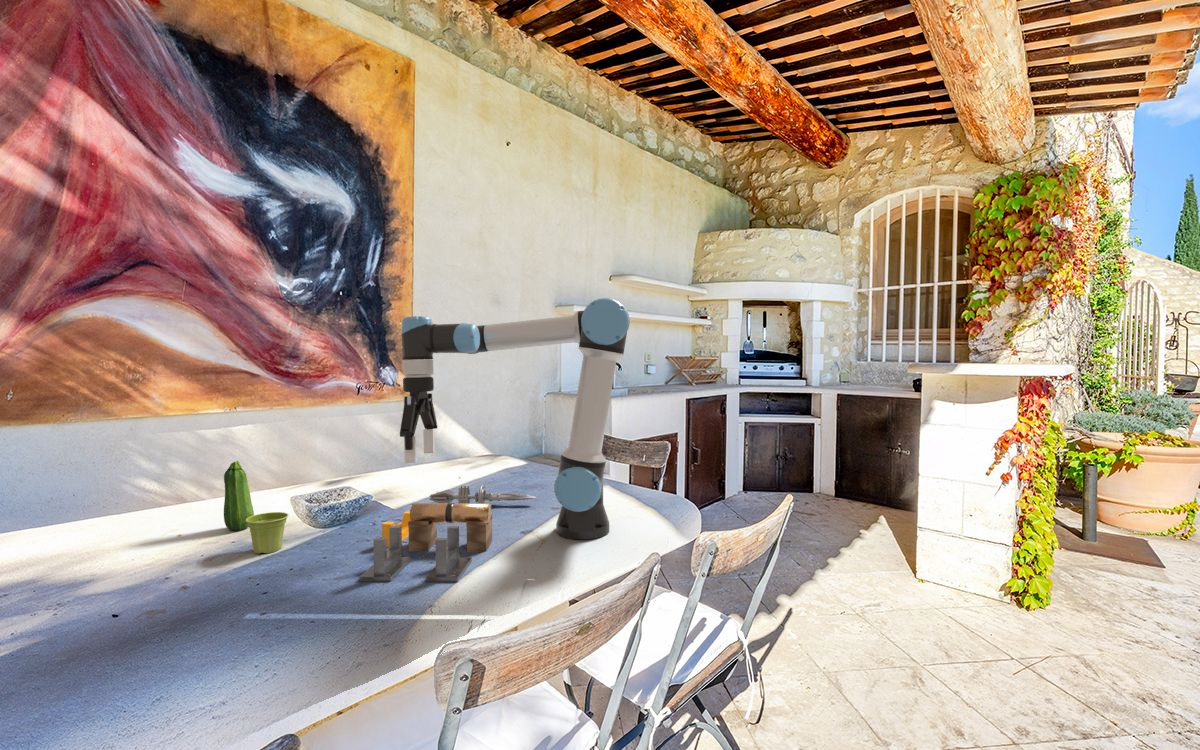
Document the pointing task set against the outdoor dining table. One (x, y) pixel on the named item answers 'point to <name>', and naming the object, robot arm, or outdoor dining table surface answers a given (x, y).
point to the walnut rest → (426, 534)
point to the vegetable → (236, 498)
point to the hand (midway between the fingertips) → (420, 457)
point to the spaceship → (465, 496)
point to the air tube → (450, 512)
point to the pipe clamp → (404, 525)
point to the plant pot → (267, 531)
